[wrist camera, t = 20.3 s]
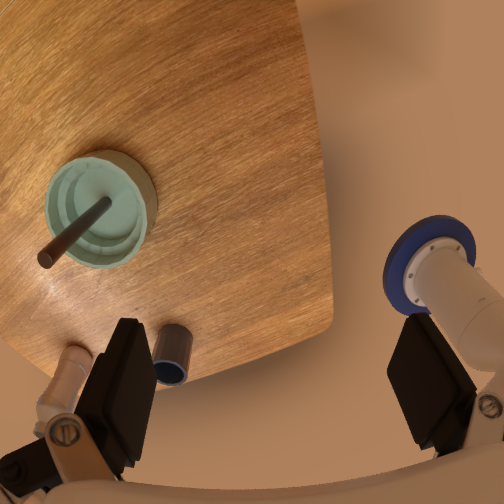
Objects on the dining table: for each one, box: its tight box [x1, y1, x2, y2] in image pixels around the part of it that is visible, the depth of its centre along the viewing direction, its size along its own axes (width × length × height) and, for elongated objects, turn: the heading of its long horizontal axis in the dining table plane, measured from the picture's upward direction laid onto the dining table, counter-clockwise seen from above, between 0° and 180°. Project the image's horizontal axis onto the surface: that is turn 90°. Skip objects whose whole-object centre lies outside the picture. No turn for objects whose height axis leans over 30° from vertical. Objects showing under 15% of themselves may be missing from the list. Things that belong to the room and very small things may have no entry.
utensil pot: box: [151, 324, 193, 386], centre depth 46 cm, size 6×6×8 cm
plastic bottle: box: [33, 346, 92, 439], centre depth 42 cm, size 6×7×20 cm
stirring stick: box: [37, 197, 112, 269], centre depth 31 cm, size 2×2×16 cm
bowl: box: [44, 150, 158, 269], centre depth 36 cm, size 14×14×6 cm
